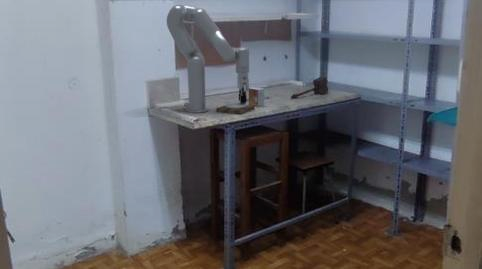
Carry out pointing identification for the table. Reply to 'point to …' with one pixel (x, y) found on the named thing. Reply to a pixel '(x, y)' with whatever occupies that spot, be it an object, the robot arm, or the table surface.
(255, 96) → the small box
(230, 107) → the round post pedestal
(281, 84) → the table surface
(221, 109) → the stand base
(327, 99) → the table surface
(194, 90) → the robot arm
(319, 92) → the hammer
